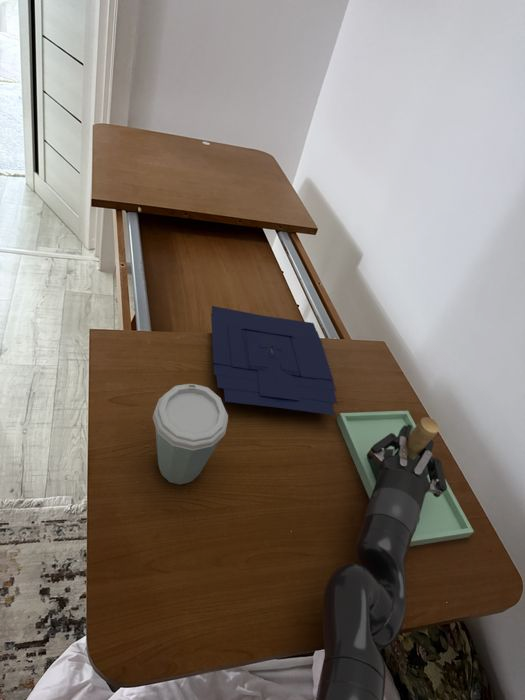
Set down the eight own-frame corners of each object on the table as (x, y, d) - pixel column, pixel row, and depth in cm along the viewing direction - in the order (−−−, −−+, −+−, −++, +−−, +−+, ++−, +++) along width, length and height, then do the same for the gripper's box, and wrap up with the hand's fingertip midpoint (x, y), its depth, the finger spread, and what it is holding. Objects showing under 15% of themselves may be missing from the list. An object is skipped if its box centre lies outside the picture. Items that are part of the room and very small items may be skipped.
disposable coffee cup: (212, 498, 78) (235, 442, 68) (141, 497, 75) (154, 439, 65) (208, 440, 85) (227, 382, 75) (143, 438, 82) (154, 377, 72)
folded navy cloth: (211, 411, 88) (215, 396, 86) (208, 315, 112) (211, 302, 110) (339, 426, 94) (346, 412, 92) (310, 332, 118) (315, 319, 115)
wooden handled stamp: (424, 479, 91) (461, 437, 83) (376, 481, 88) (410, 437, 80) (412, 456, 95) (448, 412, 86) (366, 457, 91) (398, 412, 83)
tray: (467, 537, 86) (474, 531, 84) (390, 549, 80) (396, 543, 79) (403, 416, 103) (408, 410, 101) (335, 419, 97) (340, 412, 95)
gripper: (343, 495, 80) (373, 425, 92) (425, 543, 78) (443, 465, 90) (362, 469, 75) (391, 399, 87) (450, 520, 73) (466, 441, 85)
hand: (417, 433), depth 89 cm, fingers closed on wooden handled stamp, 3 cm apart
